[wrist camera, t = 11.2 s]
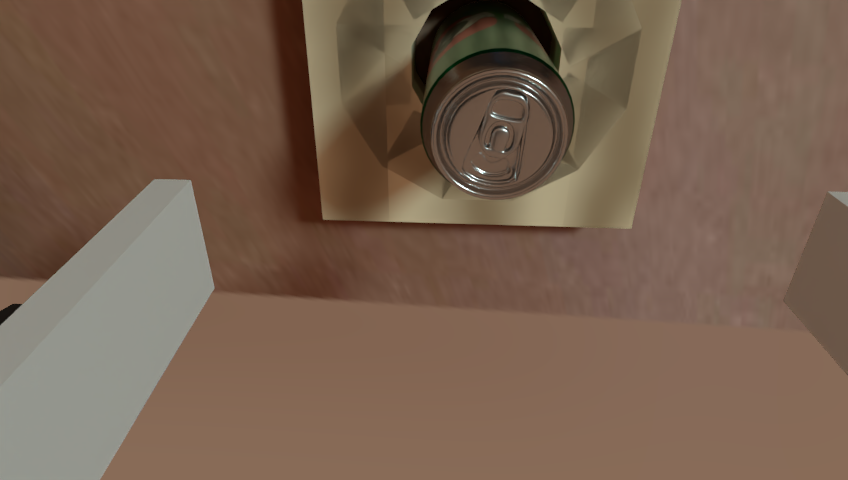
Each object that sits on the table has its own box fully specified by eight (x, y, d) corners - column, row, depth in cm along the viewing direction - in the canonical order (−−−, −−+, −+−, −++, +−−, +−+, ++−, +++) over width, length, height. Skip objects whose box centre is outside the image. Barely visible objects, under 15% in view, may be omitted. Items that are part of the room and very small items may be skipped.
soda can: (422, 92, 29) (404, 193, 19) (444, -13, 27) (437, 38, 16) (517, 113, 30) (551, 224, 19) (548, 11, 27) (606, 77, 17)
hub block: (333, 194, 32) (322, 221, 30) (305, -143, 24) (286, -149, 22) (616, 202, 32) (632, 230, 29) (685, -141, 24) (716, -148, 21)
